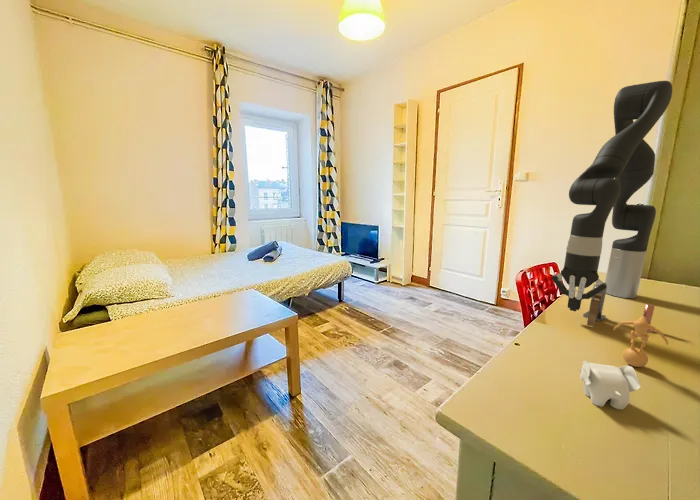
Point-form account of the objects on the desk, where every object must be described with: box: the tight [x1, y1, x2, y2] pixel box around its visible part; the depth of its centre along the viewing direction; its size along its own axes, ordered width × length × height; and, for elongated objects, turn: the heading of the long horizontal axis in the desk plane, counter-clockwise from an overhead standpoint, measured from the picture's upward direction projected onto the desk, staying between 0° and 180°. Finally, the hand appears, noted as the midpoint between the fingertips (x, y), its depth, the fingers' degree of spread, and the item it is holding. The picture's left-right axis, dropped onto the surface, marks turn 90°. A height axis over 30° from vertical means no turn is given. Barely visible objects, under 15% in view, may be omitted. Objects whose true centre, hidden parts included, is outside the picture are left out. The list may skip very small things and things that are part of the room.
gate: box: [586, 294, 602, 327], centre depth 83 cm, size 9×2×7 cm, turn 136°
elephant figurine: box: [578, 359, 642, 411], centre depth 53 cm, size 8×10×7 cm
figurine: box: [612, 315, 669, 368], centre depth 62 cm, size 8×6×12 cm
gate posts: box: [583, 283, 656, 334], centre depth 84 cm, size 6×15×10 cm, turn 36°
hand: (573, 310), depth 85 cm, fingers closed
